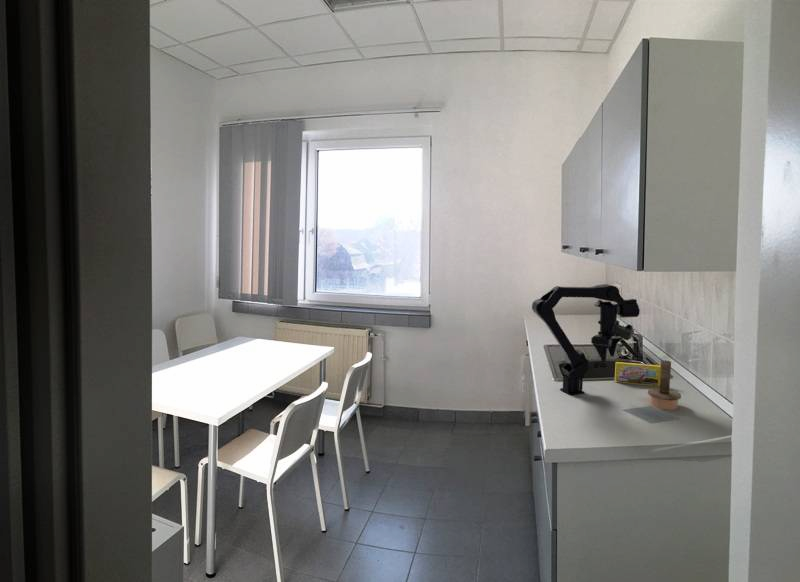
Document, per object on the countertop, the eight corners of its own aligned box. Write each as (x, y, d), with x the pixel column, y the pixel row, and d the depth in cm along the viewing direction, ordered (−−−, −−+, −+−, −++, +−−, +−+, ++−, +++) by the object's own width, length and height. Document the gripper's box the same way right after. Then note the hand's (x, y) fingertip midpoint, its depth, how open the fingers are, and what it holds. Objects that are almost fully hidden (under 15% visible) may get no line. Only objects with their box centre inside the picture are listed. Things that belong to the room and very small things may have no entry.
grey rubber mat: (651, 424, 145) (651, 423, 145) (622, 411, 156) (622, 409, 156) (680, 419, 148) (680, 418, 148) (649, 407, 160) (650, 405, 160)
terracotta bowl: (664, 411, 155) (665, 400, 155) (645, 403, 163) (645, 392, 162) (682, 409, 158) (683, 397, 157) (662, 401, 165) (663, 390, 165)
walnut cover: (665, 401, 154) (667, 366, 152) (641, 392, 163) (642, 359, 162) (687, 398, 157) (690, 364, 155) (663, 389, 166) (665, 356, 165)
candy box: (614, 382, 187) (615, 362, 186) (614, 381, 189) (615, 361, 188) (659, 386, 182) (661, 366, 181) (658, 385, 184) (660, 364, 183)
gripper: (623, 323, 160) (622, 367, 162) (639, 316, 174) (638, 356, 175) (590, 321, 168) (590, 363, 169) (608, 314, 181) (608, 352, 183)
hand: (608, 358), depth 174 cm, fingers open, 9 cm apart
